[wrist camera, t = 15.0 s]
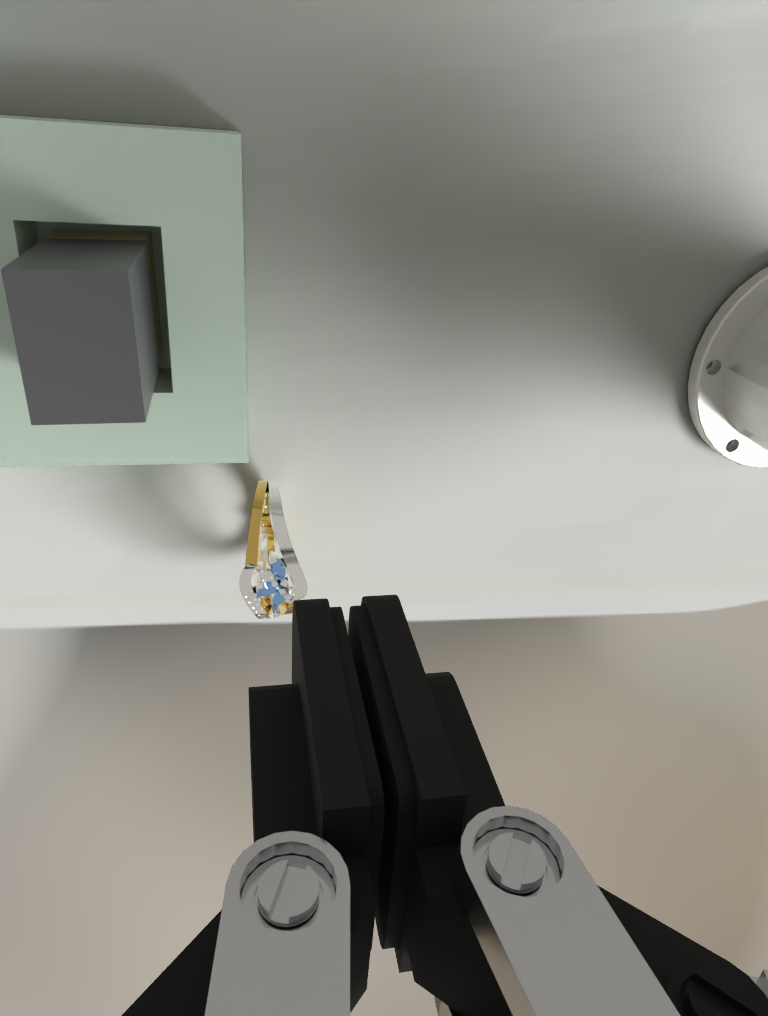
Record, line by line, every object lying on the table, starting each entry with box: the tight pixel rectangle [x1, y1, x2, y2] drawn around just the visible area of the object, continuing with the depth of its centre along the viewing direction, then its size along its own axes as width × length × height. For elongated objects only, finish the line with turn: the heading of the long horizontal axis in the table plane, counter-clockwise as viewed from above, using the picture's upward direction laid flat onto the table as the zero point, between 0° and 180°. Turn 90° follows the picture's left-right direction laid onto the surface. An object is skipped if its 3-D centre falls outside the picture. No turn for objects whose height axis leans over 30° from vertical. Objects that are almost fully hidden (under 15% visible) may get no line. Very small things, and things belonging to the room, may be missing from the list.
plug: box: [1, 229, 163, 425], centre depth 29 cm, size 4×6×9 cm
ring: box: [240, 480, 307, 619], centre depth 37 cm, size 7×3×8 cm, turn 173°
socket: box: [0, 115, 249, 467], centre depth 31 cm, size 16×14×5 cm
